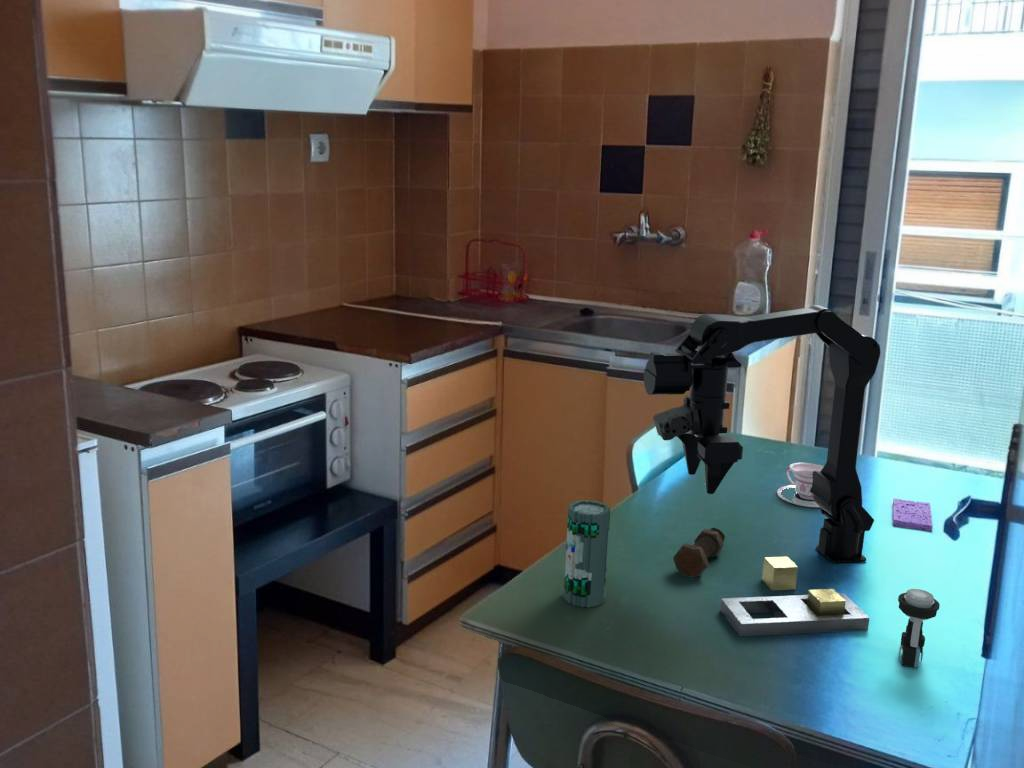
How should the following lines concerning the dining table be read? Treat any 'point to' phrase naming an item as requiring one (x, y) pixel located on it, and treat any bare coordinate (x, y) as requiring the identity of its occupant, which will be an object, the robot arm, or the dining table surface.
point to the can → (586, 553)
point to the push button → (915, 623)
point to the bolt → (699, 552)
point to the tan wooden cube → (825, 602)
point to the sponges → (912, 514)
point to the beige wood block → (779, 573)
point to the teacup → (801, 483)
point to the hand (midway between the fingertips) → (700, 483)
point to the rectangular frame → (789, 616)
